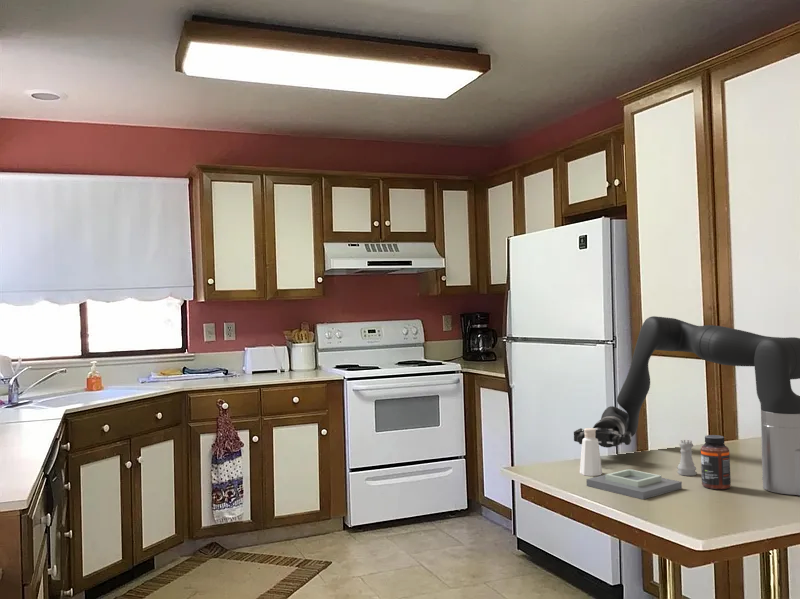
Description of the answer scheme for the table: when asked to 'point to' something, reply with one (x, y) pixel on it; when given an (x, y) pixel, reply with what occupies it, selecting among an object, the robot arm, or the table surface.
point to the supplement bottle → (715, 463)
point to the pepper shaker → (590, 454)
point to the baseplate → (634, 483)
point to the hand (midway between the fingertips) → (597, 441)
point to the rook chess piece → (686, 459)
